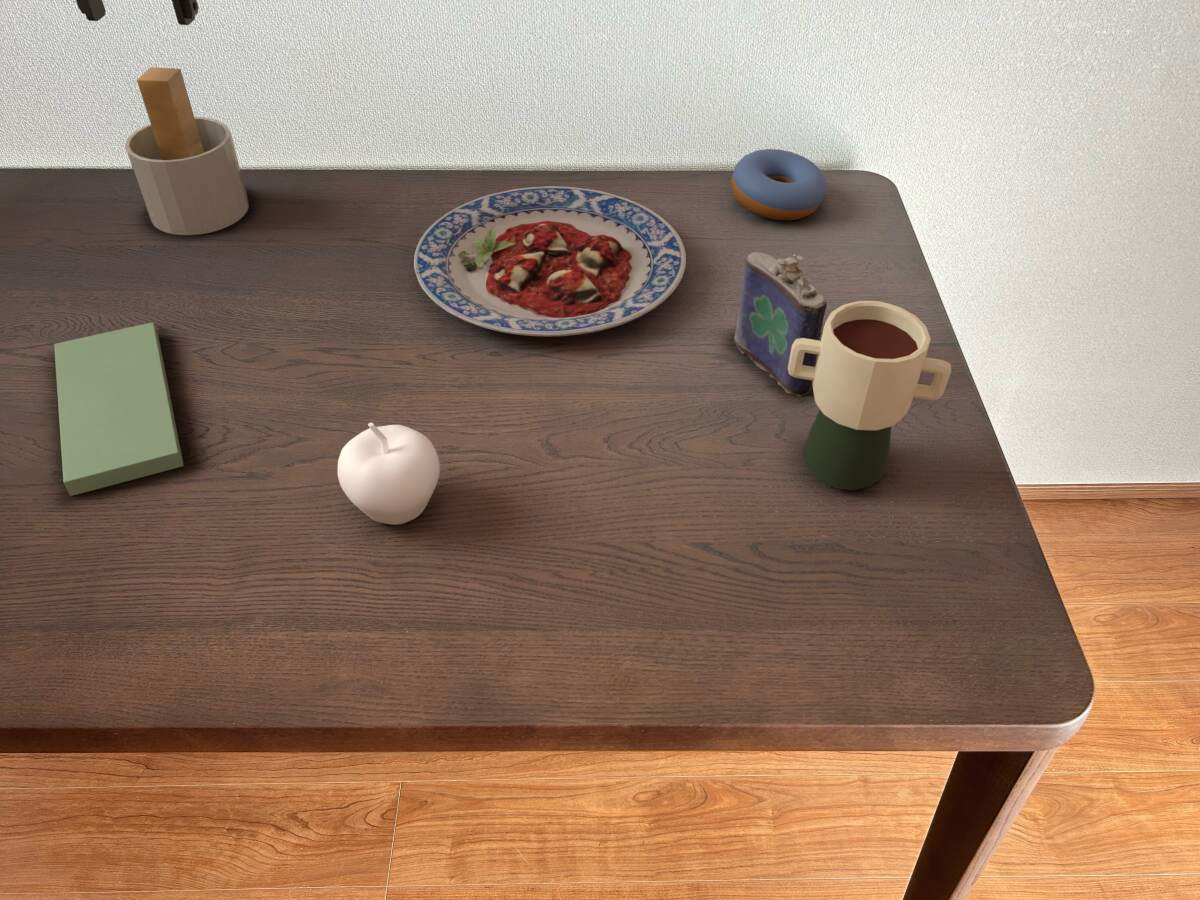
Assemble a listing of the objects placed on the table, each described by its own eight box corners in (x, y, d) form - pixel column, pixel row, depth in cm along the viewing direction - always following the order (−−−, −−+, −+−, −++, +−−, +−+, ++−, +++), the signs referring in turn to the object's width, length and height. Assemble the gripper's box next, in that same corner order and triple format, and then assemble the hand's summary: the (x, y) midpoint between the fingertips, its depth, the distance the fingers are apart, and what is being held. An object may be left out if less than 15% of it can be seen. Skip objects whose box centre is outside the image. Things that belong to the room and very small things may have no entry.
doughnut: (841, 213, 102) (849, 173, 99) (765, 236, 99) (771, 196, 96) (784, 173, 109) (790, 134, 106) (710, 194, 105) (714, 154, 102)
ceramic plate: (725, 244, 98) (728, 217, 96) (608, 388, 81) (608, 360, 79) (507, 183, 106) (506, 158, 104) (360, 302, 90) (355, 275, 88)
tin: (134, 232, 98) (107, 158, 92) (174, 185, 105) (152, 114, 100) (227, 238, 97) (206, 164, 92) (262, 190, 104) (244, 119, 99)
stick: (179, 213, 100) (136, 79, 90) (191, 199, 102) (150, 66, 92) (207, 215, 100) (167, 81, 90) (218, 201, 102) (180, 68, 92)
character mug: (915, 448, 76) (959, 312, 67) (913, 512, 71) (961, 374, 62) (776, 424, 78) (802, 288, 69) (765, 485, 73) (791, 347, 64)
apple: (365, 467, 74) (348, 386, 68) (456, 479, 73) (445, 398, 68) (332, 534, 69) (310, 453, 63) (428, 548, 68) (415, 467, 63)
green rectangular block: (60, 357, 83) (53, 343, 82) (158, 335, 86) (153, 321, 85) (70, 496, 71) (63, 482, 70) (184, 466, 74) (178, 452, 73)
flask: (727, 341, 86) (742, 235, 79) (754, 332, 87) (770, 226, 80) (793, 400, 80) (815, 292, 73) (821, 389, 81) (845, 282, 74)
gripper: (183, -198, 79) (233, 9, 90) (17, -203, 80) (87, 2, 91) (143, -178, 74) (201, 39, 85) (-35, -184, 75) (46, 32, 86)
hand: (142, 20), depth 88 cm, fingers open, 8 cm apart
